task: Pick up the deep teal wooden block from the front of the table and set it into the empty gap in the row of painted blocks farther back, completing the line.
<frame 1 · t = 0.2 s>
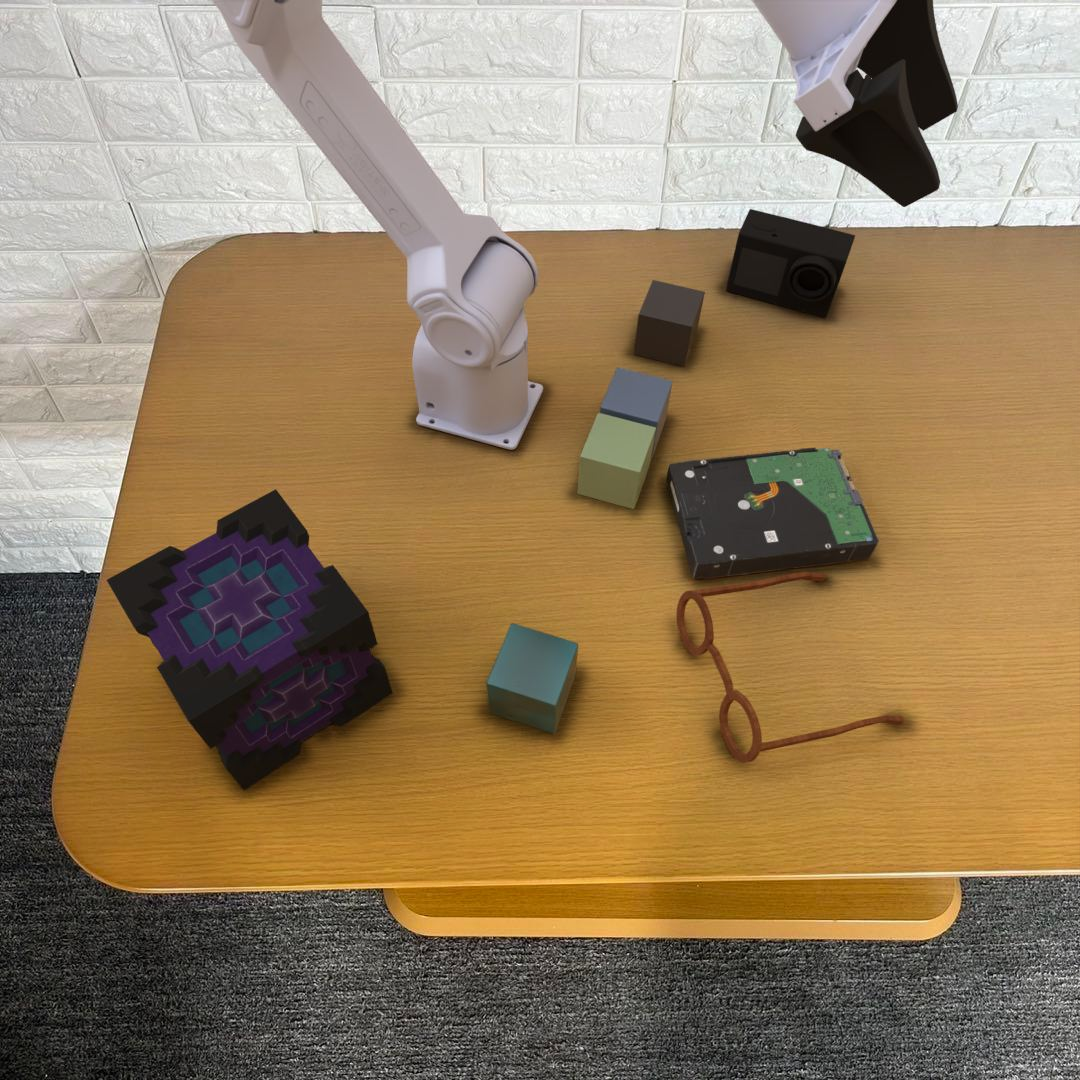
hand: (931, 155, 50), 32 cm above the table, tool tilted 50°, fingers open, 7 cm apart
digital camera: (777, 297, 90), on the table
disk drive: (763, 521, 75), on the table
teal block: (533, 693, 66), on the table
slate block: (631, 432, 80), on the table
energy cube: (280, 679, 66), on the table
sage block: (613, 479, 77), on the table
charcoal block: (665, 343, 86), on the table
glasses: (783, 670, 67), on the table
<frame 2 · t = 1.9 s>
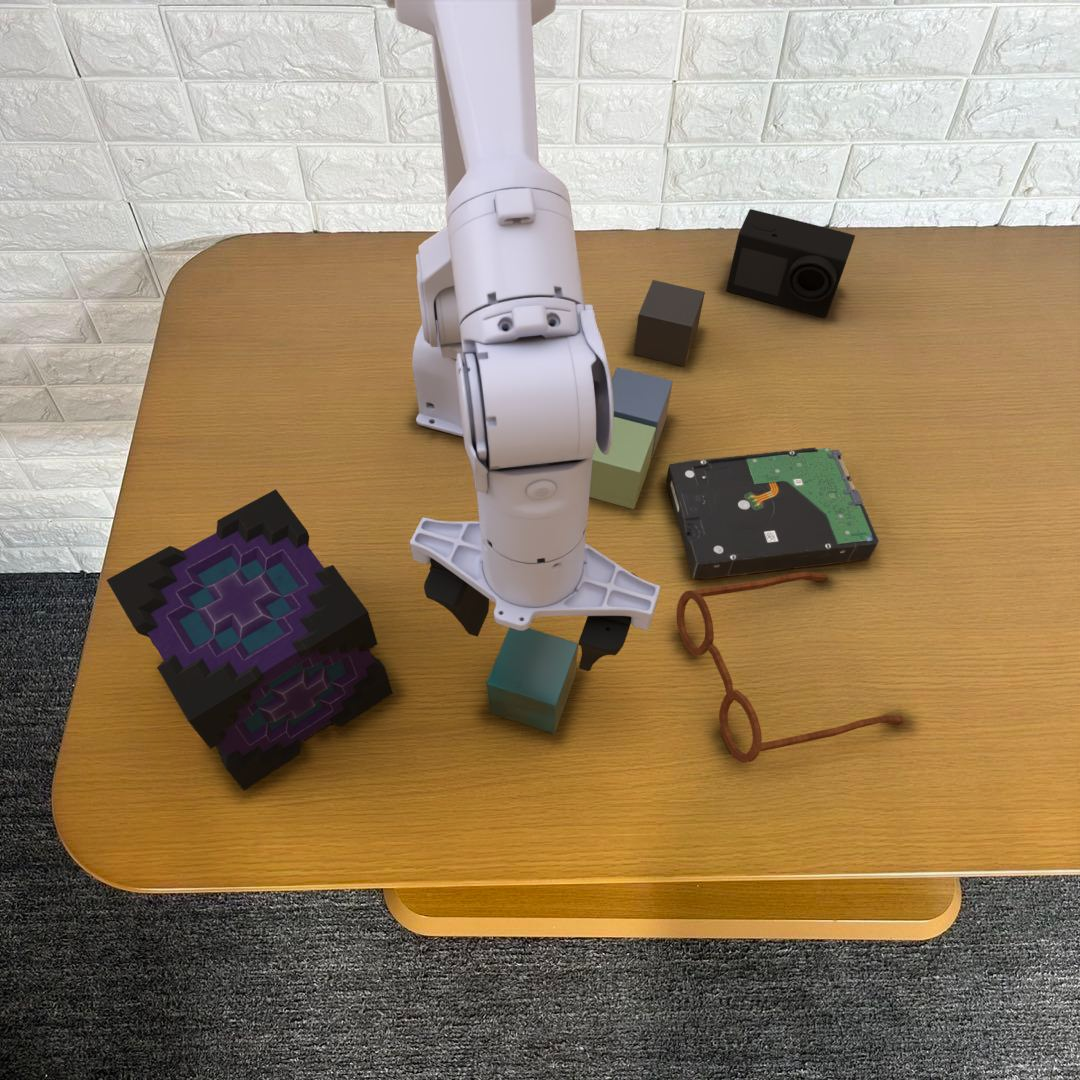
hand: (533, 639, 59), 8 cm above the table, tool pointing down, fingers open, 7 cm apart
nothing on the table moved.
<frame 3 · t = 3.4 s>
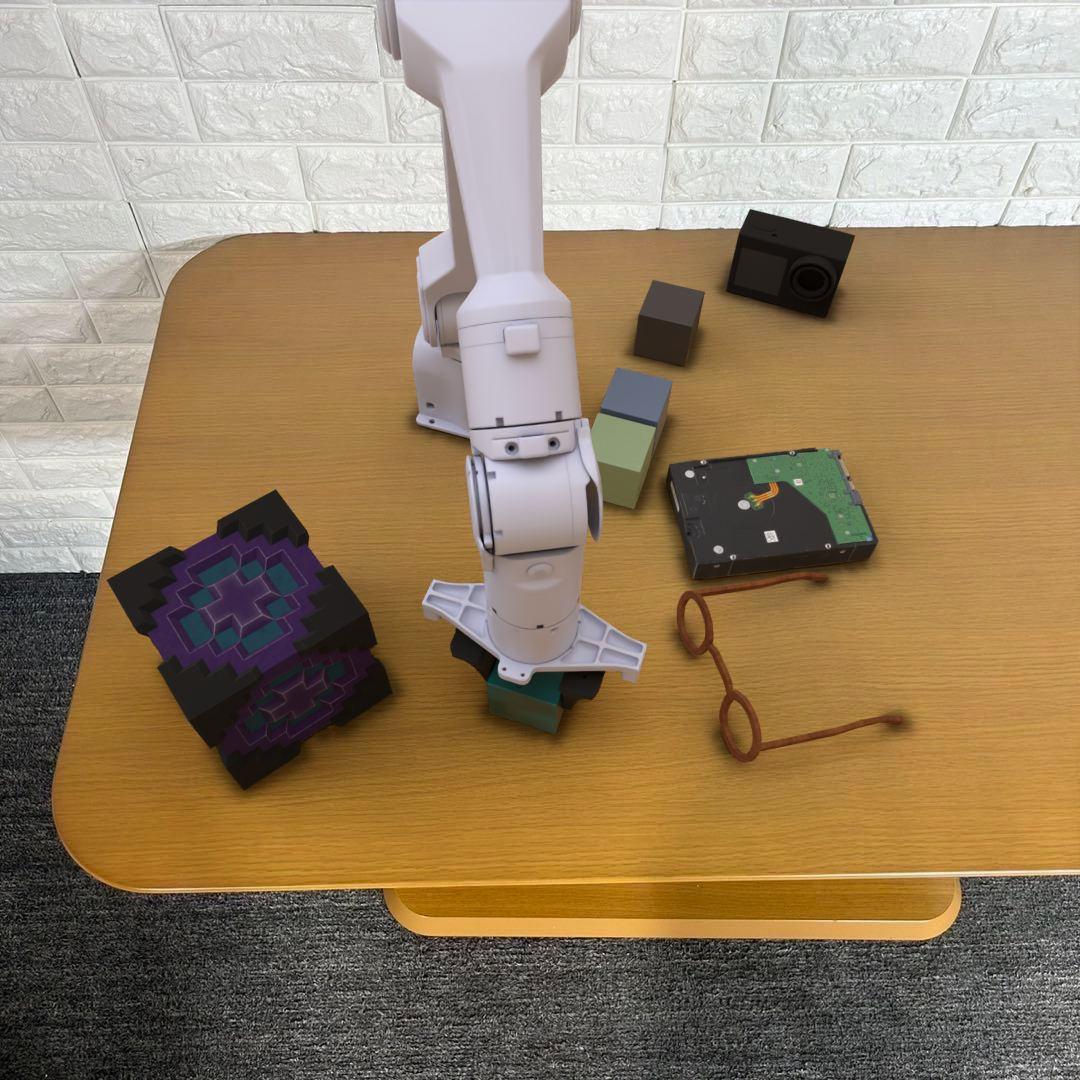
hand: (532, 685, 64), 1 cm above the table, tool pointing down, fingers closed on teal block, 5 cm apart
teal block: (533, 693, 66), on the table, touching gripper
everything else where it was.
when the fingers open (2 cm above the table, at t = 9.3 s): teal block drops 3 cm, on the table.
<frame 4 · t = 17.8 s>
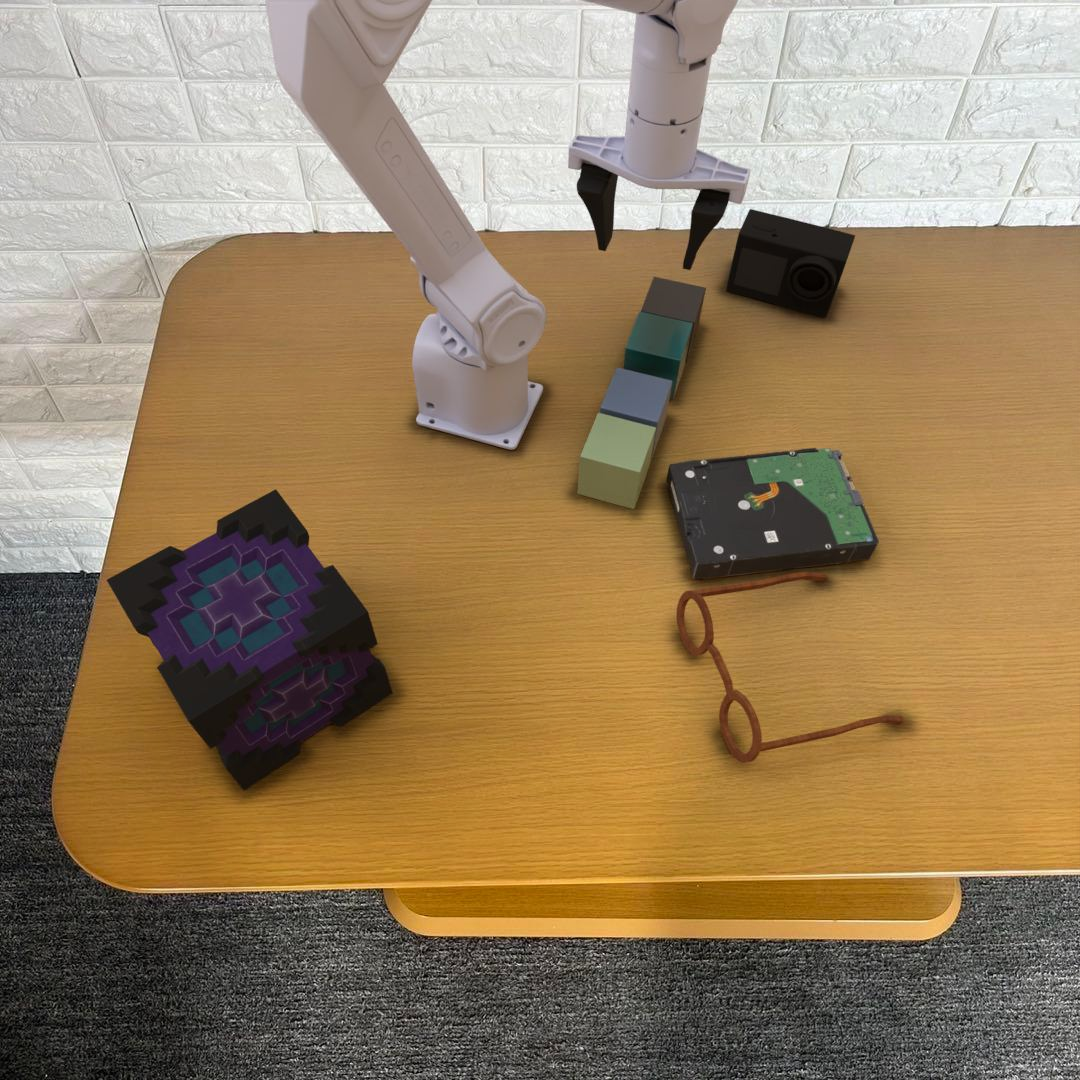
hand: (646, 253, 79), 9 cm above the table, tool pointing down, fingers open, 7 cm apart
teal block: (653, 375, 84), on the table
everything else where it was.
at the end: teal block 0.5 cm from the target spot, on the table; teal block tilted 0°; charcoal block moved 0.5 cm from its start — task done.
